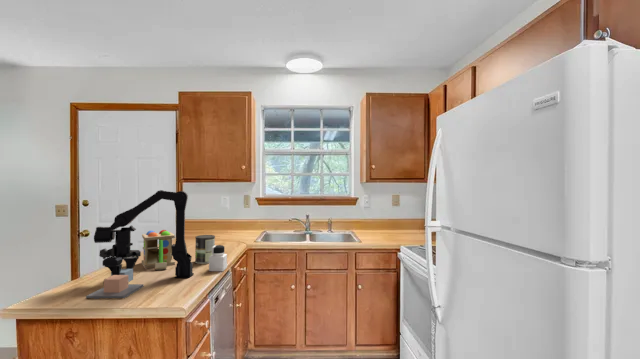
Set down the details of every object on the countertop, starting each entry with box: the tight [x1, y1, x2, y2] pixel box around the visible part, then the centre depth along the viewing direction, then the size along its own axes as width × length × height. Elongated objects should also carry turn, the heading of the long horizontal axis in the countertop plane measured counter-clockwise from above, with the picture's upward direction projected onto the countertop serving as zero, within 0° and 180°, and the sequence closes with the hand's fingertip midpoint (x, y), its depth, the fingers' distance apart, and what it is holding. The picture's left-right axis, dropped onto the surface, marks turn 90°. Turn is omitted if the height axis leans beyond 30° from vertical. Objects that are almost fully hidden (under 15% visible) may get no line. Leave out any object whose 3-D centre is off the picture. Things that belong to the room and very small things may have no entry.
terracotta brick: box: [103, 275, 129, 292], centre depth 127 cm, size 6×6×5 cm
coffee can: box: [194, 234, 216, 265], centre depth 177 cm, size 10×10×14 cm
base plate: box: [85, 283, 145, 300], centre depth 127 cm, size 14×14×1 cm
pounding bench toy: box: [141, 229, 176, 271], centre depth 168 cm, size 23×14×18 cm, turn 35°
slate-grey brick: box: [110, 268, 134, 283], centre depth 141 cm, size 6×6×5 cm
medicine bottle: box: [208, 244, 228, 272], centre depth 161 cm, size 7×7×12 cm
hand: (122, 277), depth 141 cm, fingers open, 9 cm apart
